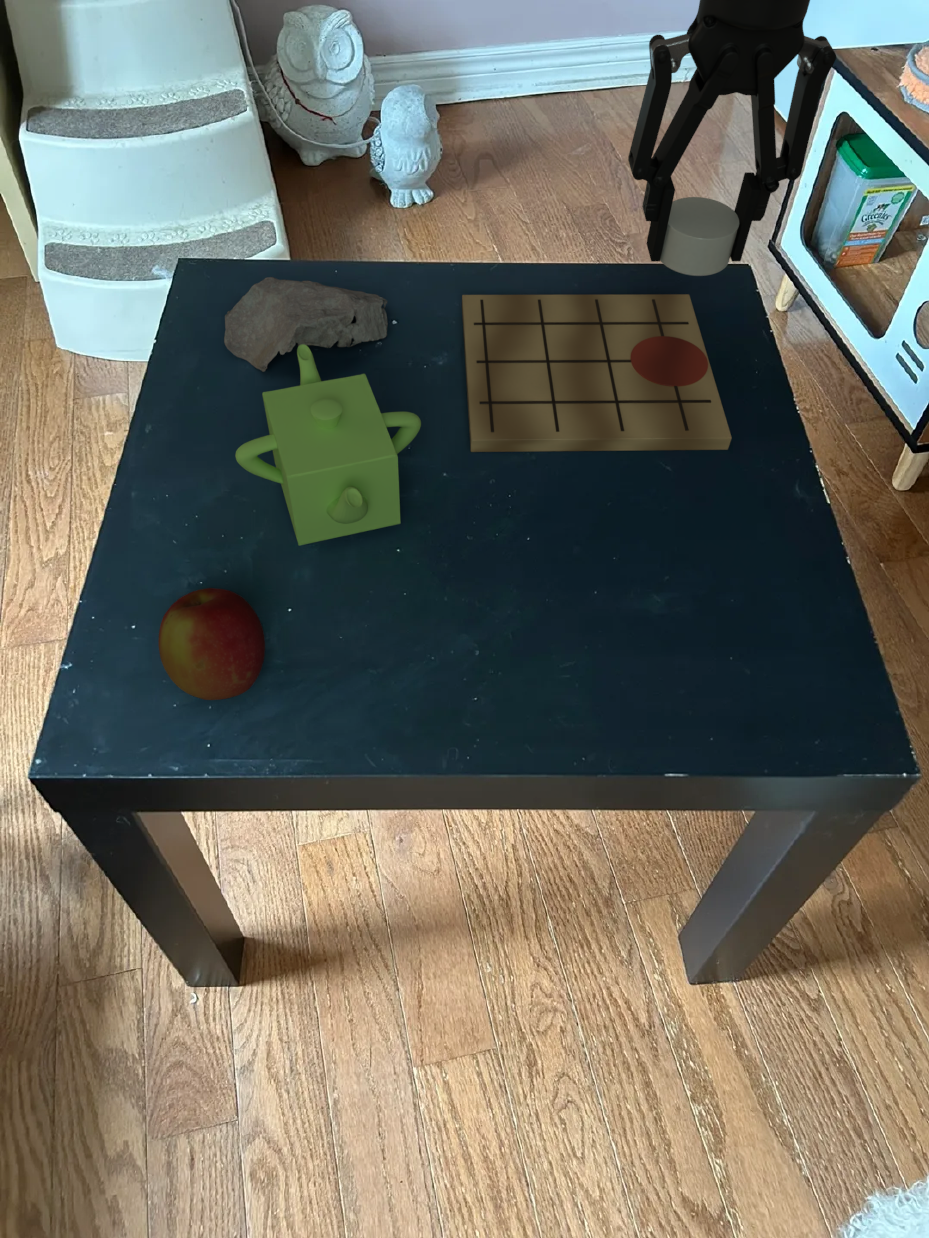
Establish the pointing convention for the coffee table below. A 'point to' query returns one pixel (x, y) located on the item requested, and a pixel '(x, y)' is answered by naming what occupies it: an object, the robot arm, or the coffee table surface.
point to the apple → (212, 644)
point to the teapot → (331, 454)
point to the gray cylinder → (699, 236)
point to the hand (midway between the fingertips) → (693, 252)
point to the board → (589, 374)
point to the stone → (300, 319)
